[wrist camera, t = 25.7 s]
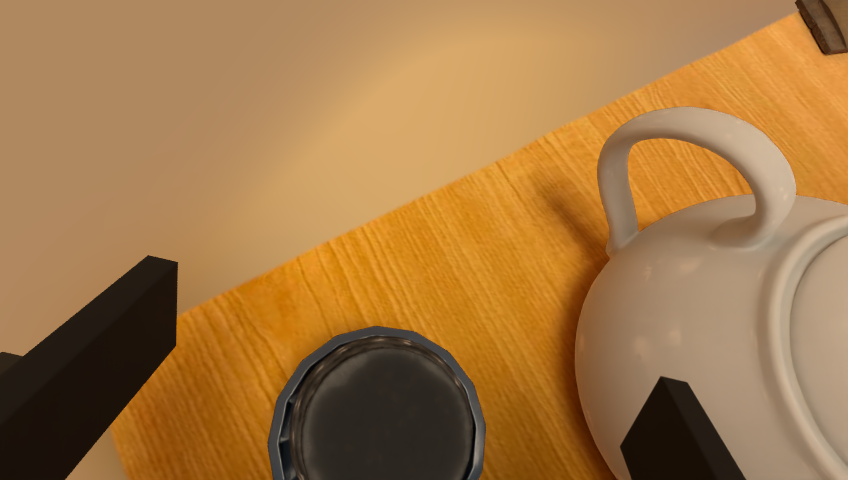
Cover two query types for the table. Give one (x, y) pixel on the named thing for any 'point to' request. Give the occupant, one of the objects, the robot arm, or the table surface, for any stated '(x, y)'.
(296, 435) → the pill bottle
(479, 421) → the cylindrical container
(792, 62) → the table surface
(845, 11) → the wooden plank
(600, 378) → the teapot
